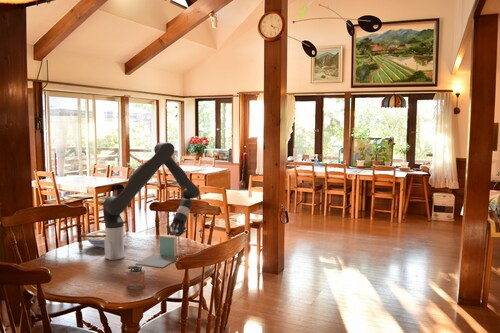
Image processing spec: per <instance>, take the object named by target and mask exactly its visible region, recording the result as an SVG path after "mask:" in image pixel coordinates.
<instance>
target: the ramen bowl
mask: <svg viewBox="0 0 500 333" xmlns="http://www.w3.org/2000/svg"><path fill="white" fill-rule="evenodd" d="M126 235H127V232H126V231H125V230H124V238H125V236H126ZM78 237H79V238H86V239H87V242H89V243H90V244H91V245H93V246H95V247H98V248H101V249H105V246H104V241H106V229H101V230H100V229H99V230H96V231H92V232H89V233H87V234H80V235H78Z"/></svg>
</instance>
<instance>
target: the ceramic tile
mask: <svg viewBox="0 0 500 333" xmlns="http://www.w3.org/2000/svg"><path fill="white" fill-rule="evenodd" d="M159 255H163V256H170V257H177V256H178V236H172V235H170V234H161V235H159Z"/></svg>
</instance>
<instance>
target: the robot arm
mask: <svg viewBox="0 0 500 333" xmlns="http://www.w3.org/2000/svg"><path fill="white" fill-rule="evenodd" d="M153 151H154V155H153V156H151V158H150V159H147V161H145V162H144V163H142V164H141V165H139V166H138V167H137V168H136V169H135V170H134V171H133V172H132V174H131V175H130V176H129V178H128V180H127V182H126V185H125V187H124V188H123V189H122V191H121V192H119V194H118V195H117V196H115V195H113V196H108V197H106V198H105V200H104V201H103V203H102V212H103V214H102V215H103V221H104V224H105V230H106V241H104V246H105V248H104V259H106V260H108V261H109V260H110V261H117V260H121V259H124V258H125V237H124V231H125V229H124V228H125V227H124V220H123V218H122V216H121V215H122V213H123V212H124V211H126V209H127V207H128V206H129V205H130V203H131V202H132V200H133V199H134V198H135V197H136V196H137V194H139V192H140V191H141V190H142V189H143V188H144V186H146V184H147V183H148V182H149V181H150V180H151V179H152V177H154V175H155V174H157V172H158V170H159V169H160V168H161V167H162V166H163V165H164V166H165V167H166V168H167V170H168V171H169V172H170V174H171V175H172V176H173V178H174V180H175V182H176V183H177V184H178V186H179V187H180V188H184V189H183V191H182V192H181V198H180V204H179V206H178V208H177V209H176V212H175V214H174V216H173V220H172V222H171V223H170V224H167V225H166V229H167V232H168V235H172V236H177V237H180V236H182V235H183V234H185V233H186V232H188V229H187V227H186V224H187V222H188V218H189V216H190V212H191V209H192V206H193V201H192V199H193V200H194V199H197V198H198V197H199V196H200V190H199V187H197V185H196V184H195V183H194V182H193V181H191V179H190V178H189V177H188V175H187V174H186V172H185V171H184V170H183V168H181V166H180V165H179V164H178V163H177V162H176V161H175V160H174V159H173V155H174V154H175V146H174V144H172V143H171V142H167V141H164V142H158V143H156V144H155V146H154V149H153Z"/></svg>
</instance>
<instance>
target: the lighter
mask: <svg viewBox="0 0 500 333" xmlns="http://www.w3.org/2000/svg"><path fill="white" fill-rule="evenodd" d="M125 273H126V289H130V290H131V289H132V290H134V289H135V290H137V289H139V290H140V289H145V288H146V283H145V273H146V270H145V269H143V265H136V264H135V265H128V266H127V270H126V271H125Z"/></svg>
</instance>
